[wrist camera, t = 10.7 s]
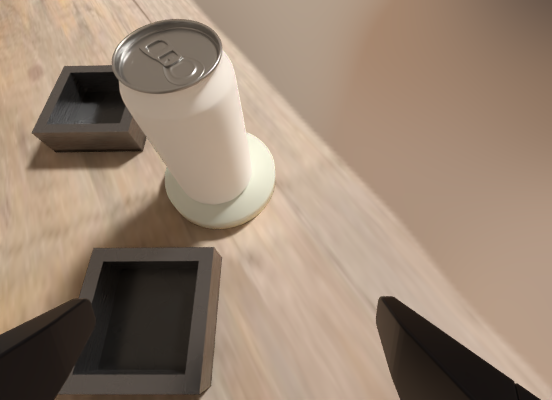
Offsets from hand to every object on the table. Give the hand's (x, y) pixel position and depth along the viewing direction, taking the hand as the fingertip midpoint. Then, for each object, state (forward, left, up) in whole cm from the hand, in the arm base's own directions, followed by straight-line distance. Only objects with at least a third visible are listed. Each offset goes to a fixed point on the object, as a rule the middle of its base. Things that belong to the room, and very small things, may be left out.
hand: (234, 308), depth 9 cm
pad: (+13, +4, -14) cm, 19 cm away
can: (+12, +4, -12) cm, 18 cm away
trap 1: (+21, +17, -14) cm, 30 cm away
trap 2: (+1, +8, -14) cm, 16 cm away
